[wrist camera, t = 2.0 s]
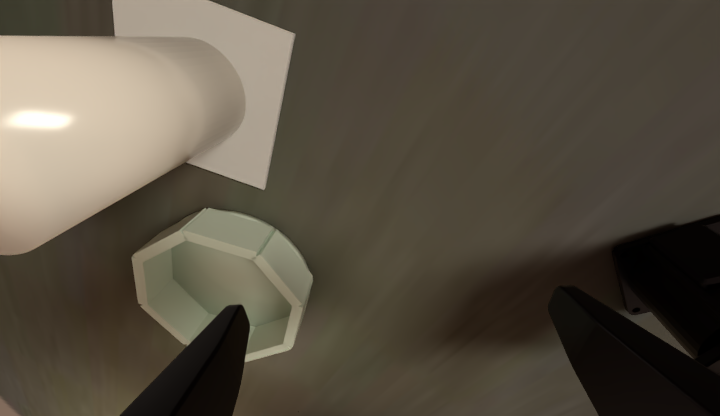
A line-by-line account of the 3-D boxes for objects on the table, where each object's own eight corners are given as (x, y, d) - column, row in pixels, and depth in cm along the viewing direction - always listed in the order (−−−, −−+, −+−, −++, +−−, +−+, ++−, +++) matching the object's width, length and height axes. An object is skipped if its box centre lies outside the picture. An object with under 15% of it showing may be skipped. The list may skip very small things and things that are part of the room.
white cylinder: (265, 114, 19) (92, 211, 8) (198, 156, 21) (-11, 277, 10) (198, 13, 16) (-159, -29, 6) (129, 71, 18) (-228, 116, 8)
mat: (295, 33, 16) (293, 33, 16) (265, 187, 21) (263, 189, 21) (114, -37, 16) (109, -38, 16) (126, 138, 21) (122, 140, 21)
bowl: (338, 302, 26) (330, 338, 23) (233, 336, 30) (213, 371, 27) (248, 183, 21) (221, 208, 18) (137, 243, 26) (100, 271, 23)
